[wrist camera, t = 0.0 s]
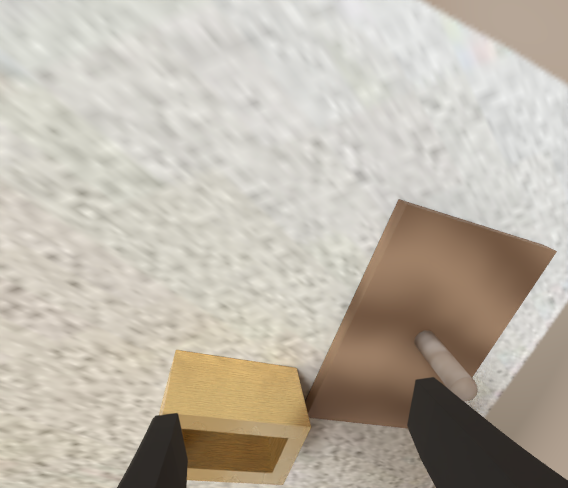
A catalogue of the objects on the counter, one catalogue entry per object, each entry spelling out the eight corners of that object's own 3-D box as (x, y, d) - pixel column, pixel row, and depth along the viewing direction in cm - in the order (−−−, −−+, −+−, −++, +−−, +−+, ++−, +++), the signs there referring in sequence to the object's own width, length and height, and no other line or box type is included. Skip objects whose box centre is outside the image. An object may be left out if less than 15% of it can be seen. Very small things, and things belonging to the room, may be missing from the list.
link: (296, 367, 23) (311, 427, 19) (273, 420, 24) (283, 485, 20) (175, 349, 21) (162, 412, 17) (160, 408, 22) (145, 478, 18)
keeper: (428, 420, 27) (476, 496, 22) (303, 405, 24) (323, 488, 19) (543, 244, 22) (641, 291, 17) (398, 199, 19) (462, 238, 14)
